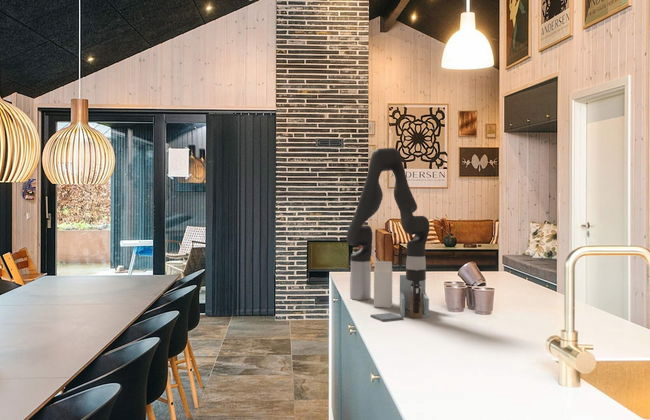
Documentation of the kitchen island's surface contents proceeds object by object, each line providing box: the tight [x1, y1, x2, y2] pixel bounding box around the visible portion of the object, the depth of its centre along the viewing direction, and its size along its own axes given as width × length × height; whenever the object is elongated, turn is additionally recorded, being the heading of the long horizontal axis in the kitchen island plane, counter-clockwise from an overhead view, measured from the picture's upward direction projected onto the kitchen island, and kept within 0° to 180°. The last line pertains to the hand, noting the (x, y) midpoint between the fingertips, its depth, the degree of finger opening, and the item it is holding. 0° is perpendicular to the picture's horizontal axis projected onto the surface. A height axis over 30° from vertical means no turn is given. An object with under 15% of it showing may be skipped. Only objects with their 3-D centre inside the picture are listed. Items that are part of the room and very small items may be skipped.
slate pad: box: [370, 312, 404, 322], centre depth 216 cm, size 9×9×1 cm
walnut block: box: [408, 292, 423, 319], centre depth 219 cm, size 4×4×9 cm
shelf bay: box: [399, 274, 430, 318], centre depth 227 cm, size 16×10×14 cm, turn 175°
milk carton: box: [373, 260, 393, 309], centre depth 240 cm, size 7×7×19 cm
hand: (415, 311), depth 219 cm, fingers closed on walnut block, 4 cm apart
